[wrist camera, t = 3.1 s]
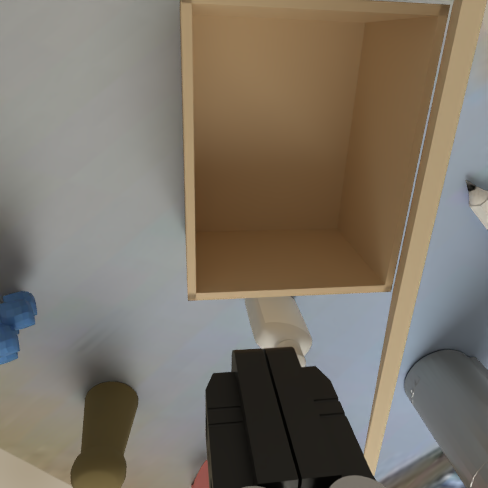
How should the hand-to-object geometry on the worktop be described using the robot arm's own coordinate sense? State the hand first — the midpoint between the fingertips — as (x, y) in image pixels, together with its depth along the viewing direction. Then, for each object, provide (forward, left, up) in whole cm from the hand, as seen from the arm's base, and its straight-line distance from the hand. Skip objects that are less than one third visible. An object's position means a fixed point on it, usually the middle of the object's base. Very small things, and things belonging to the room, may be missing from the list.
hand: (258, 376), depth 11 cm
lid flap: (-10, 0, -12) cm, 15 cm away
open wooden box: (-6, 0, -31) cm, 32 cm away
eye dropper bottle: (-7, +18, -32) cm, 37 cm away
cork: (+11, +31, -32) cm, 45 cm away
